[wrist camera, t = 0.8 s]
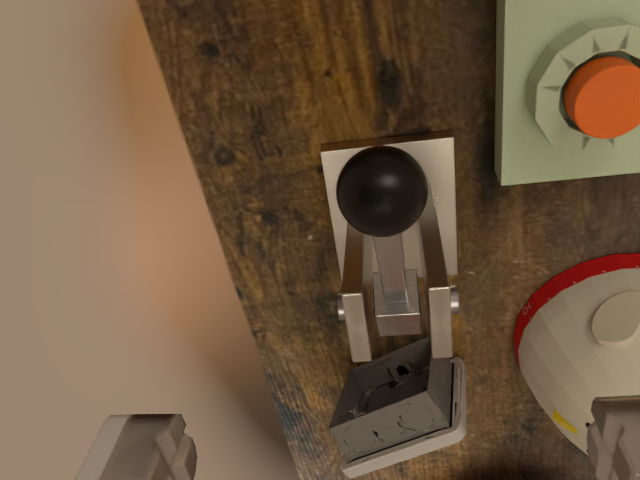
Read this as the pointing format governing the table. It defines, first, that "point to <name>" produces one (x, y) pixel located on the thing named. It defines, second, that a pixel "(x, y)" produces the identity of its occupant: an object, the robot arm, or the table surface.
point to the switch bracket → (418, 241)
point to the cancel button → (604, 97)
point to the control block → (557, 87)
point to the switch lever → (386, 227)
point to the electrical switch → (399, 409)
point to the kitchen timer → (582, 340)
